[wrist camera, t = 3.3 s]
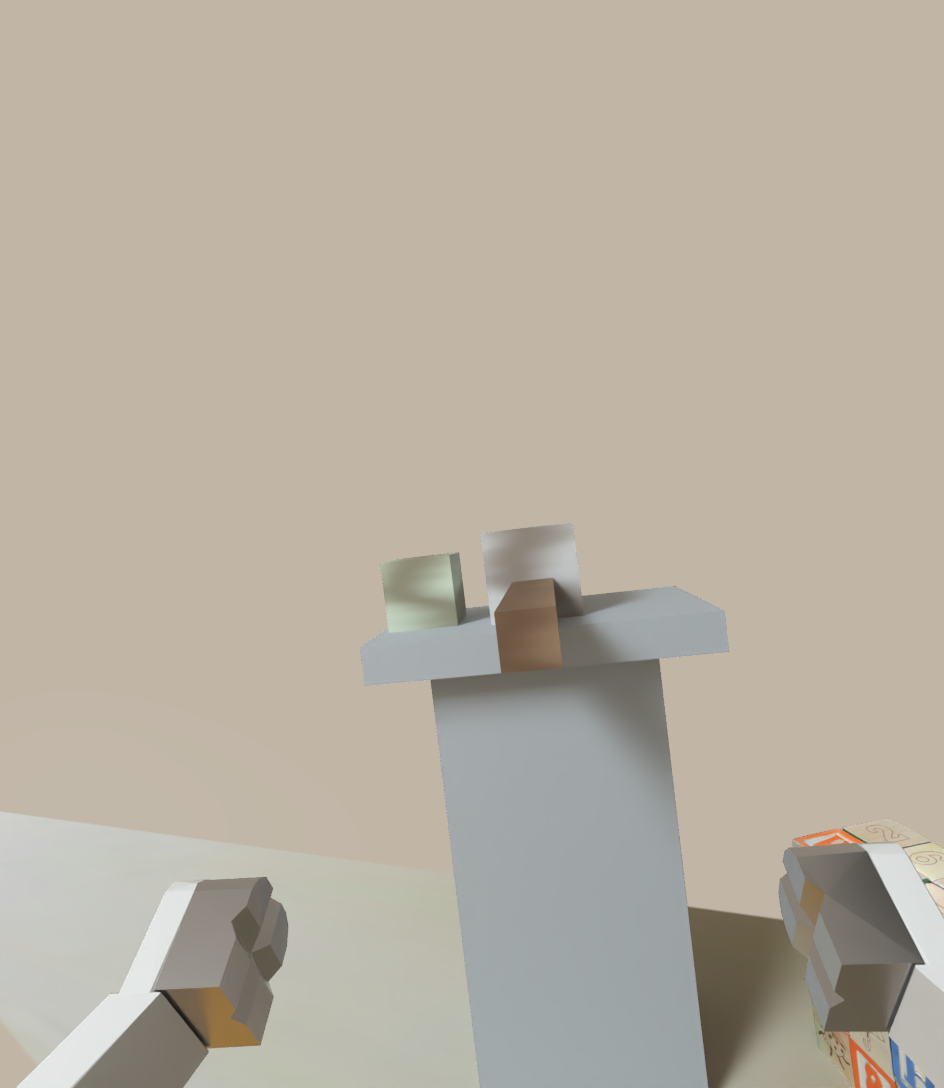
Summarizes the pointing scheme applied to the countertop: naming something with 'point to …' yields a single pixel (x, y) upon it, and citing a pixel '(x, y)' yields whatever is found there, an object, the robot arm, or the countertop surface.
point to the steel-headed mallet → (531, 592)
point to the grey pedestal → (568, 840)
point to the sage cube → (423, 592)
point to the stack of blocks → (873, 1057)
